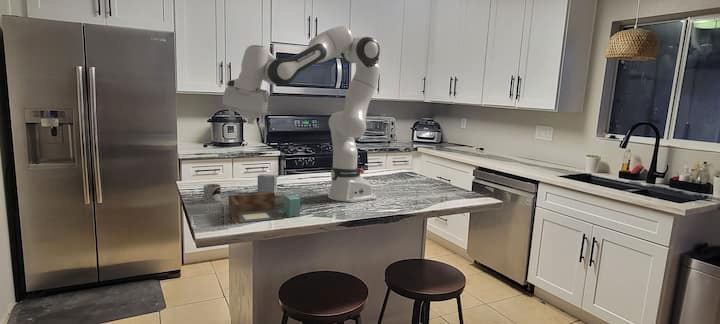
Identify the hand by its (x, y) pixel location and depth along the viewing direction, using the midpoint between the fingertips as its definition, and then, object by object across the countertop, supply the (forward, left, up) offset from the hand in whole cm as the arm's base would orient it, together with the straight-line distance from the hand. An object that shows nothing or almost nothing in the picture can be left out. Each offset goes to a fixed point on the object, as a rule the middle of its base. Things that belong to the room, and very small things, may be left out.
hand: (241, 121), depth 161 cm
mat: (-4, +13, -35) cm, 38 cm away
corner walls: (-3, +13, -35) cm, 37 cm away
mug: (+8, -15, -35) cm, 39 cm away
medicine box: (-16, -20, -35) cm, 43 cm away
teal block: (-17, +14, -35) cm, 41 cm away
